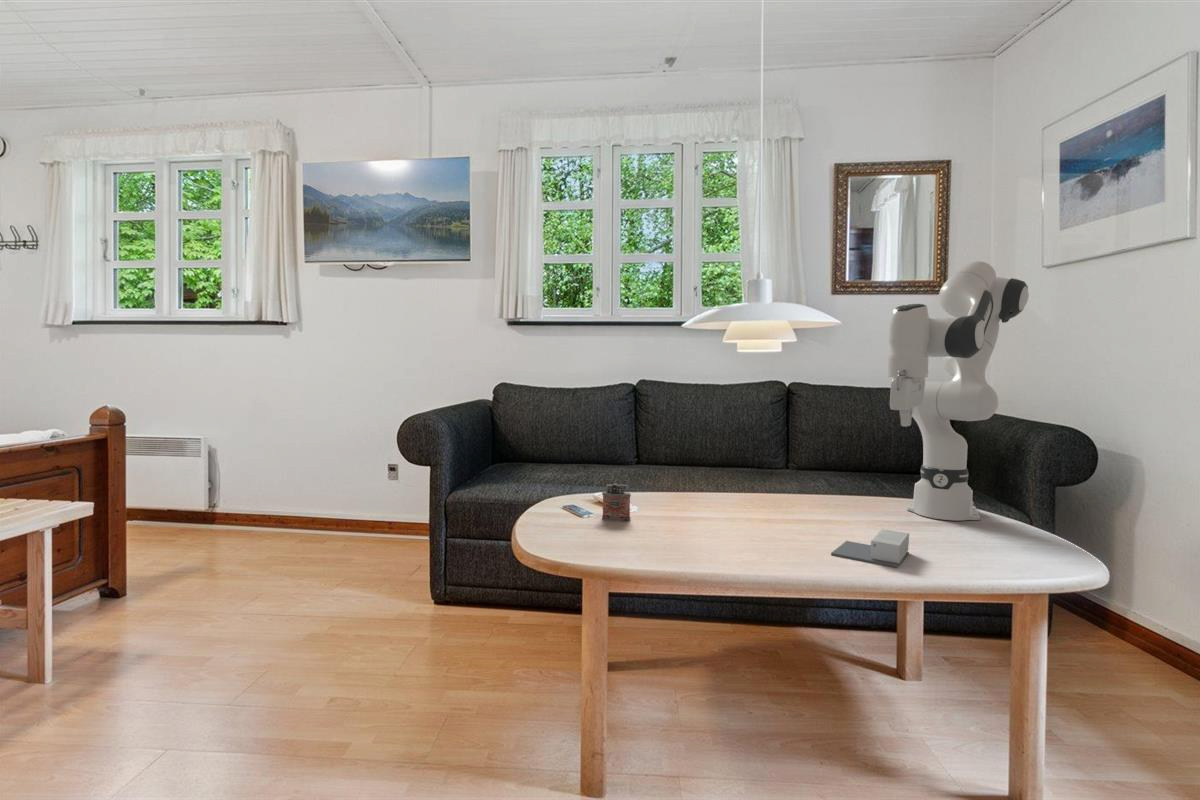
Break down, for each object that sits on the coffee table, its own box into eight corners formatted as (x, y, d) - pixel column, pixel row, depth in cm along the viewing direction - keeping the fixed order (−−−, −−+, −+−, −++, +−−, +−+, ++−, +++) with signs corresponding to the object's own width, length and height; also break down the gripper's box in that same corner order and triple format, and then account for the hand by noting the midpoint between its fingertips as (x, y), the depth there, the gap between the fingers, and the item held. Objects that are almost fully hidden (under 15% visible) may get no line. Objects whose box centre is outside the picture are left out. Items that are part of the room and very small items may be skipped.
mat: (846, 542, 150) (846, 540, 150) (909, 554, 142) (909, 552, 141) (831, 554, 141) (831, 552, 141) (897, 567, 132) (897, 565, 132)
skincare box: (881, 545, 146) (869, 558, 136) (882, 528, 146) (870, 540, 136) (909, 550, 142) (899, 564, 133) (910, 532, 142) (900, 545, 133)
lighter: (600, 519, 170) (600, 484, 169) (604, 516, 173) (604, 482, 173) (628, 522, 168) (629, 486, 167) (631, 519, 171) (632, 483, 170)
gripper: (913, 371, 140) (911, 431, 141) (929, 369, 156) (927, 423, 158) (883, 371, 144) (881, 429, 145) (902, 369, 160) (901, 421, 161)
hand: (905, 425), depth 152 cm, fingers closed
